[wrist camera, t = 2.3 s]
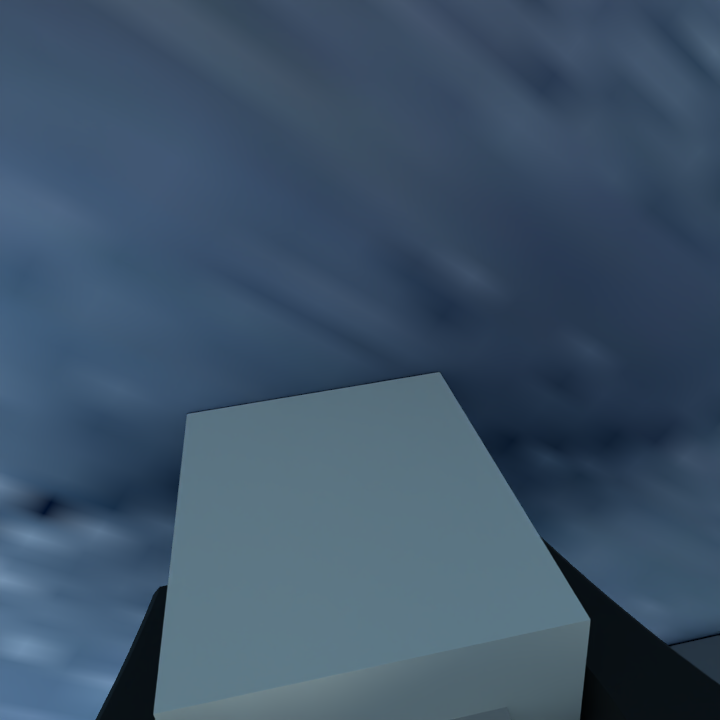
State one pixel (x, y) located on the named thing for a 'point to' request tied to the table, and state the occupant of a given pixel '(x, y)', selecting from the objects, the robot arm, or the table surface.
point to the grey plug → (360, 569)
